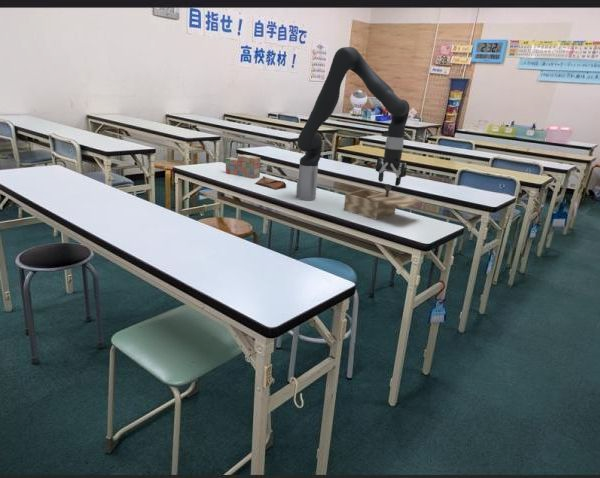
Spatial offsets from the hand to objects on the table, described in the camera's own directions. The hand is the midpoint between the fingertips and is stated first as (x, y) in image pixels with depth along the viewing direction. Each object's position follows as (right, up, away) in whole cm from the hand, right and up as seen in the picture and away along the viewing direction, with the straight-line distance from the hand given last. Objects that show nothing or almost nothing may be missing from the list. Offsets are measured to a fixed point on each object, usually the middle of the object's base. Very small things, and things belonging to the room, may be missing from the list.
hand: (388, 183), depth 197 cm
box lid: (+2, -8, 0) cm, 8 cm away
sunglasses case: (-57, +4, +48) cm, 74 cm away
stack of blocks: (-75, +13, +68) cm, 102 cm away
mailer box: (-7, -12, +11) cm, 18 cm away
